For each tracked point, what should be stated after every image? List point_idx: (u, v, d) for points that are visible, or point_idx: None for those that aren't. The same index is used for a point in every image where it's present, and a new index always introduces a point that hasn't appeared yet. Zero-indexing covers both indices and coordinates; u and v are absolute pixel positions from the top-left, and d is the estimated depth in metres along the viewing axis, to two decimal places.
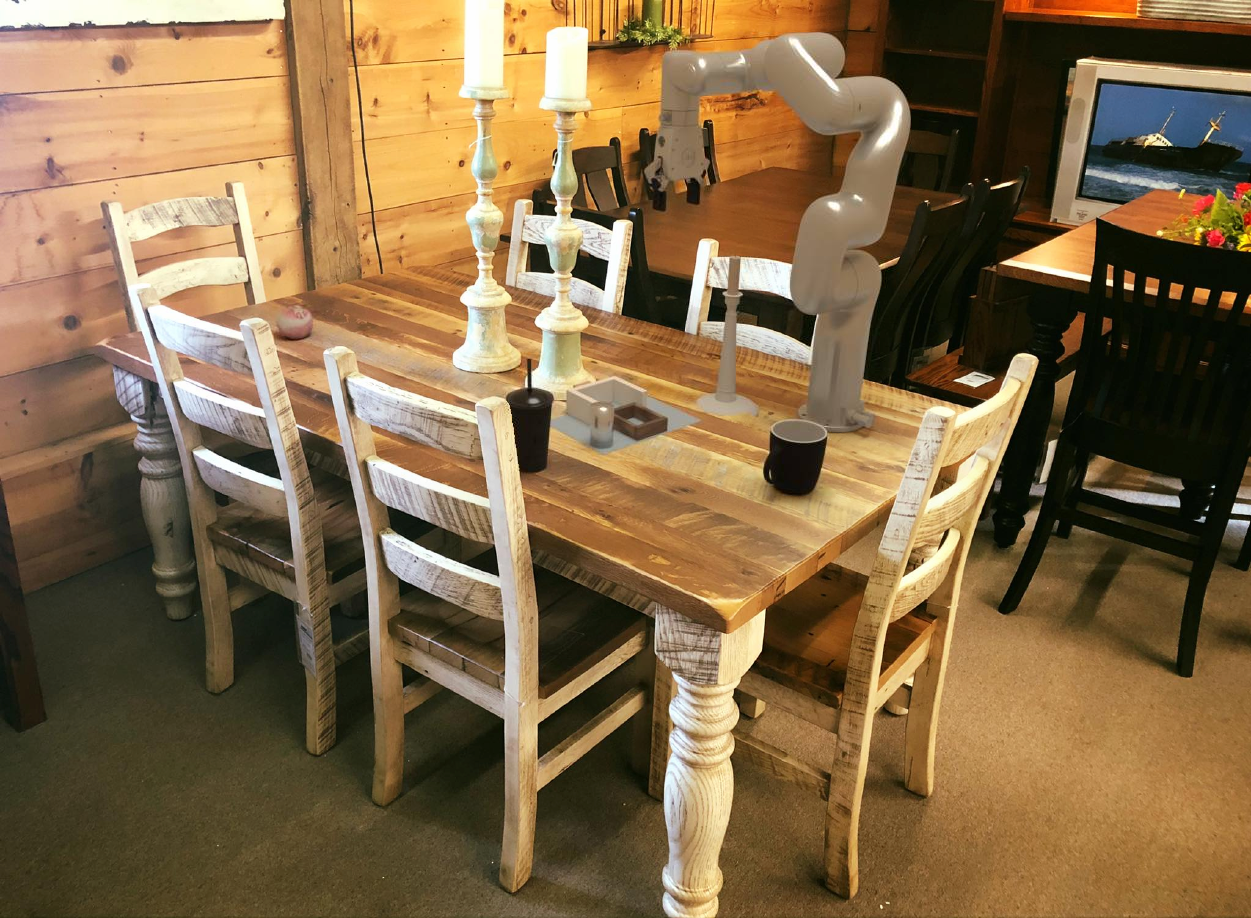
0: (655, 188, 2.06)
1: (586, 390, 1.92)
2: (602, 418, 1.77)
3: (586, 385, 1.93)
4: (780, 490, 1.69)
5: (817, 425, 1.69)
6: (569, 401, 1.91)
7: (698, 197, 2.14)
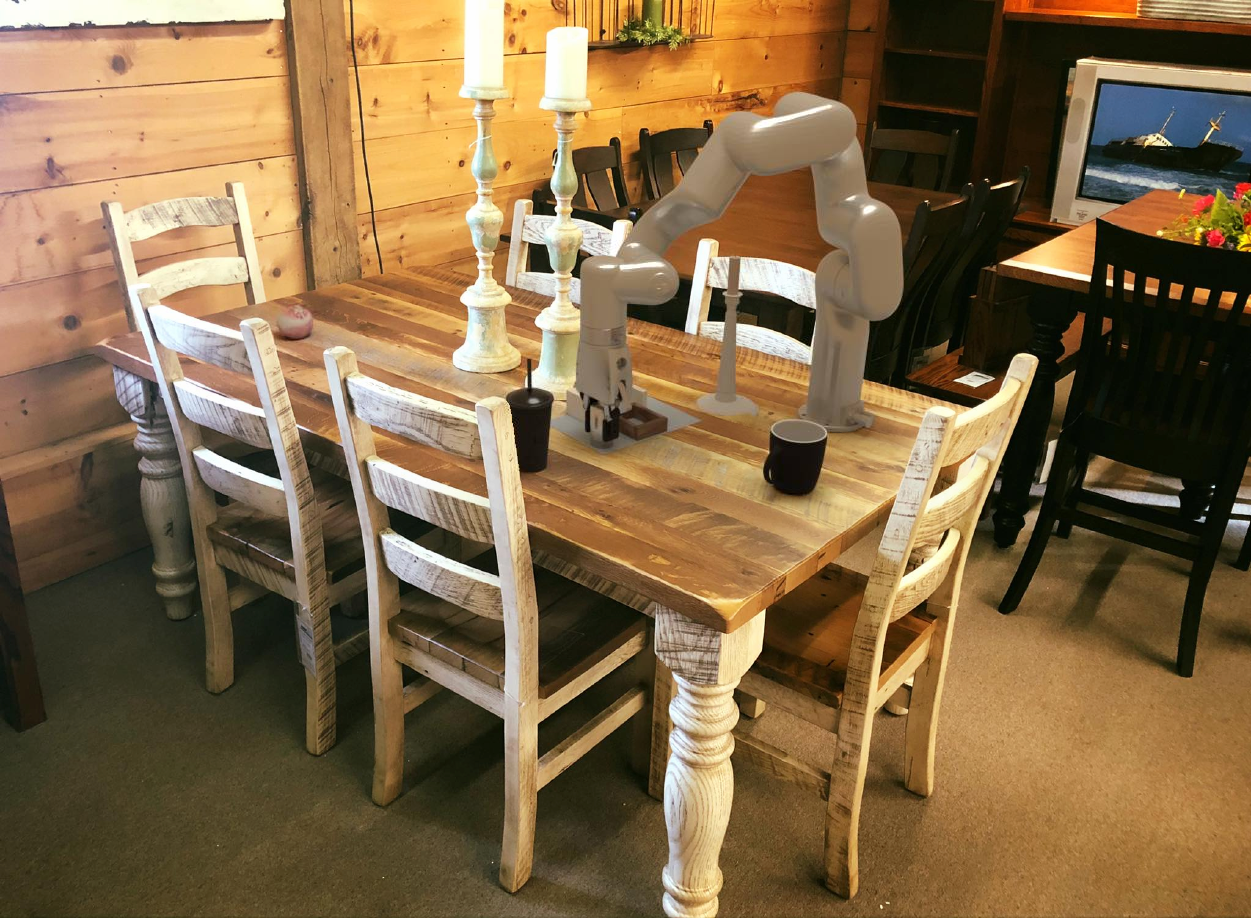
0: None
1: None
2: (602, 418, 1.77)
3: None
4: (780, 490, 1.69)
5: (817, 425, 1.69)
6: (569, 401, 1.91)
7: None
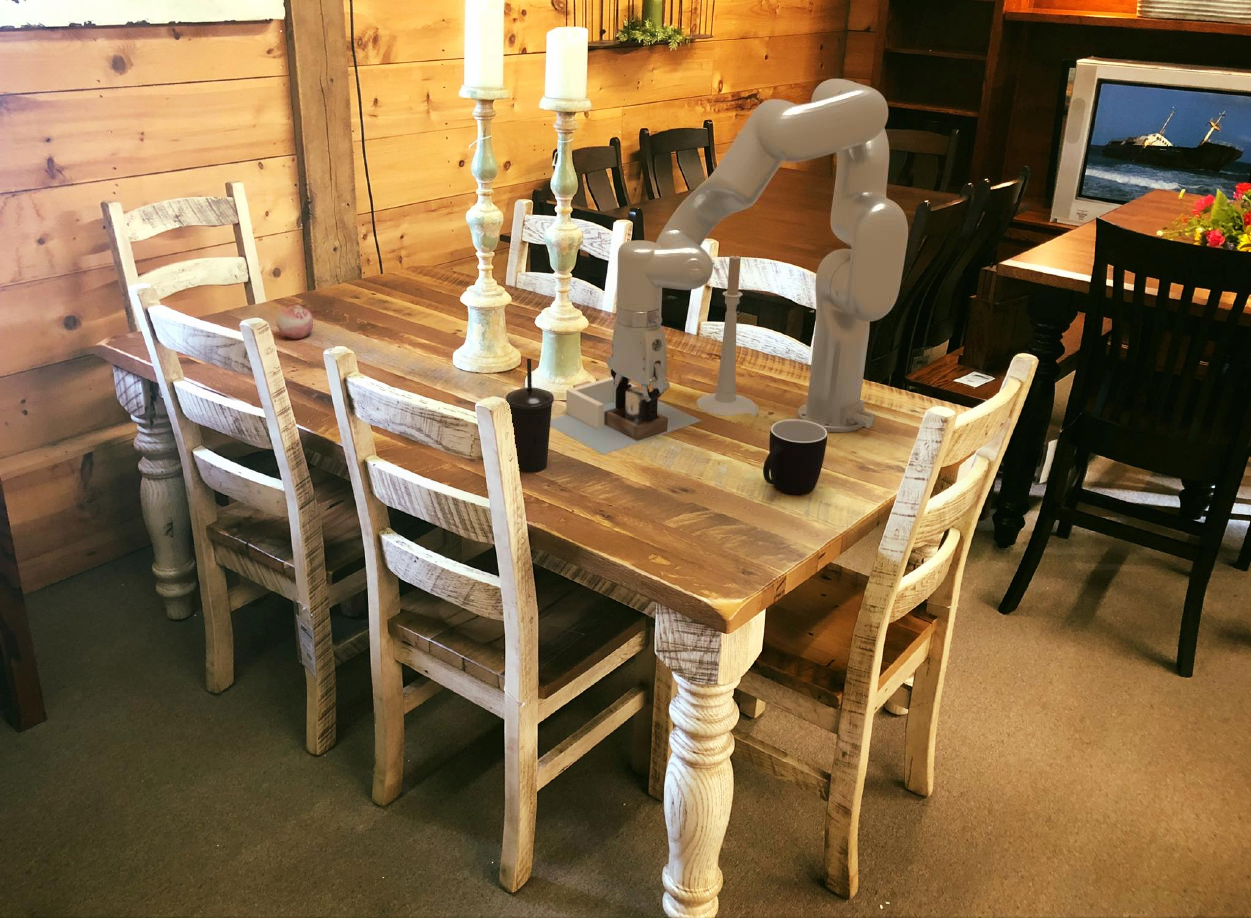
0: (656, 398, 1.81)
1: (586, 390, 1.92)
2: (637, 403, 1.83)
3: (586, 385, 1.93)
4: (780, 490, 1.69)
5: (817, 425, 1.69)
6: (569, 401, 1.91)
7: None
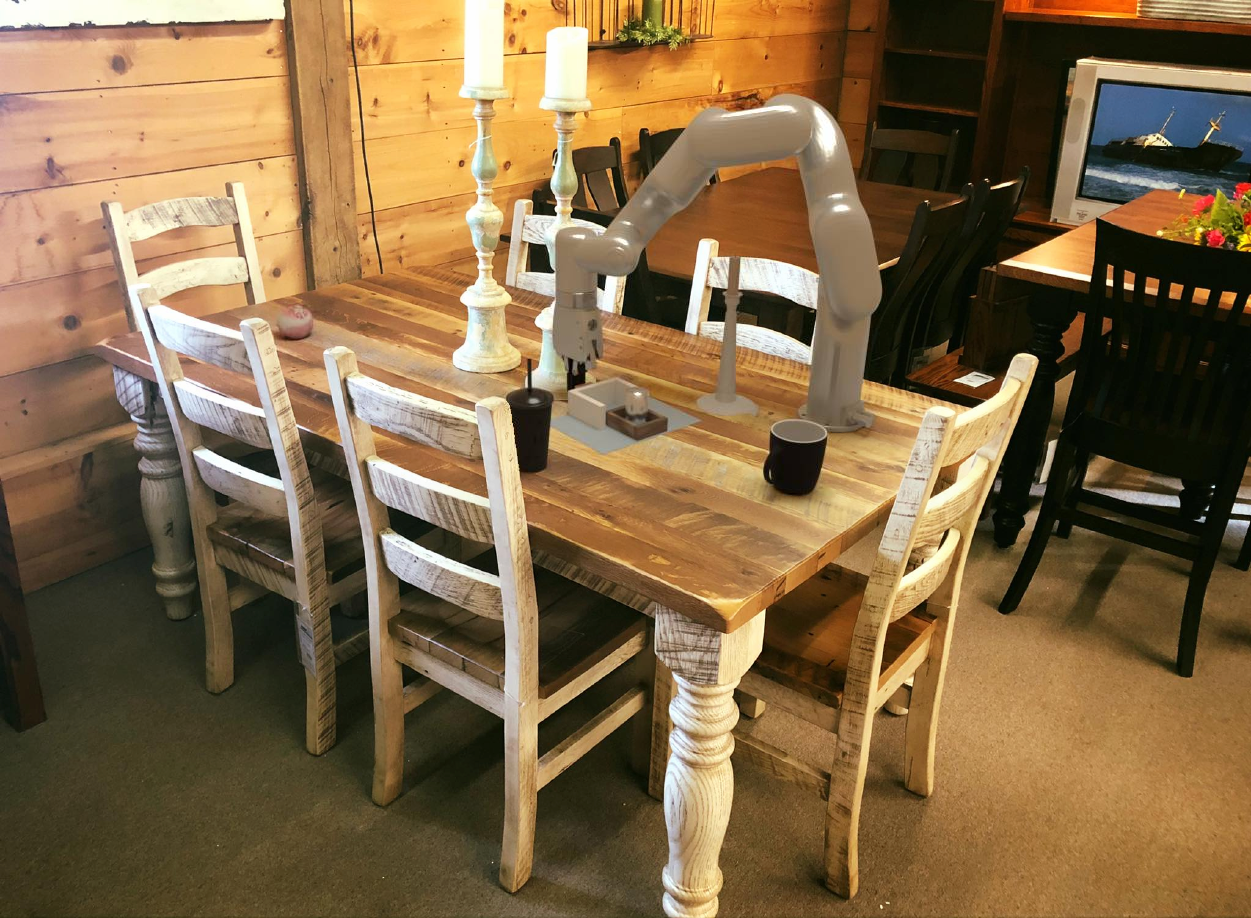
0: None
1: (588, 390, 1.92)
2: (637, 403, 1.83)
3: (588, 386, 1.92)
4: (780, 490, 1.69)
5: (817, 425, 1.69)
6: (571, 402, 1.90)
7: None
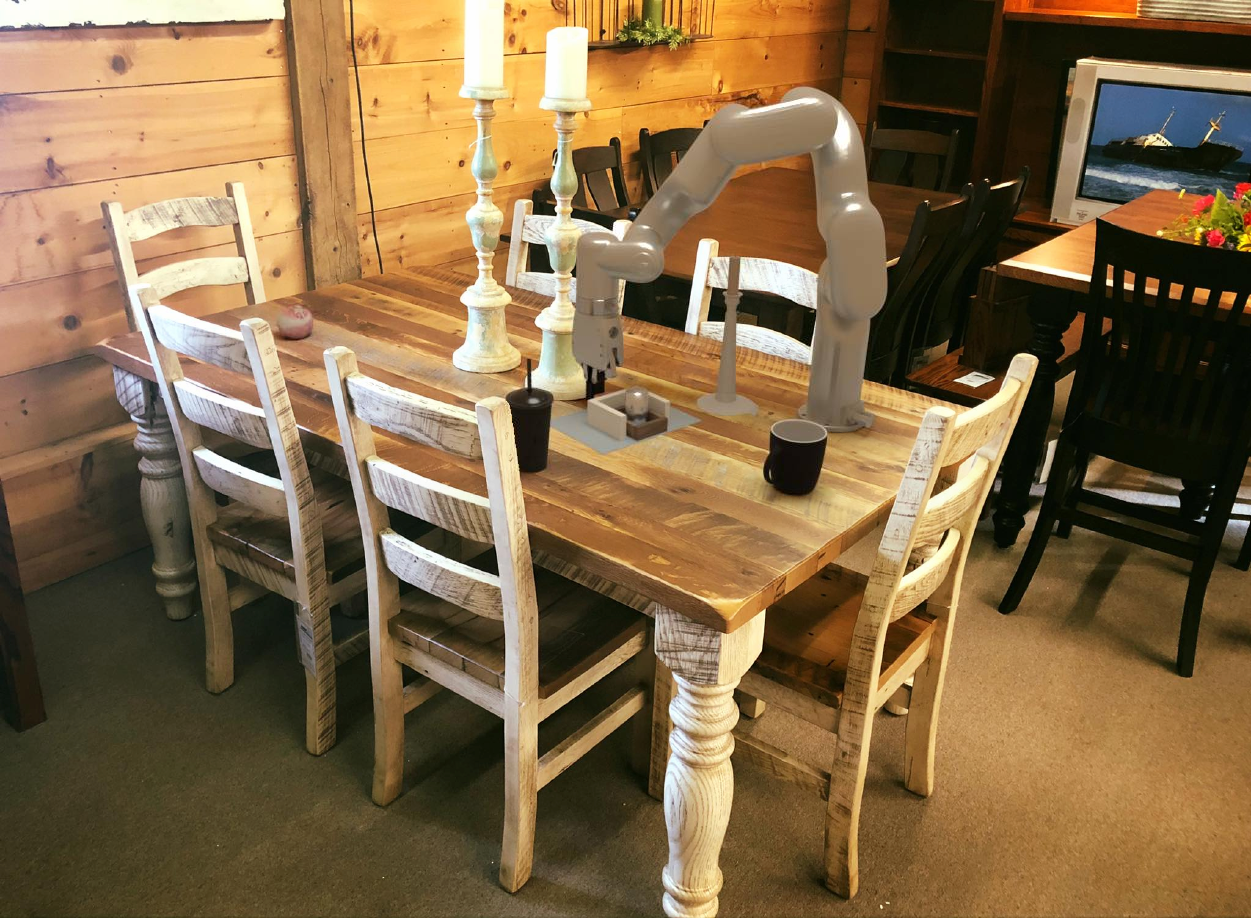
0: None
1: (608, 400, 1.88)
2: (637, 403, 1.83)
3: (607, 395, 1.88)
4: (780, 490, 1.69)
5: (817, 425, 1.69)
6: (590, 412, 1.86)
7: None
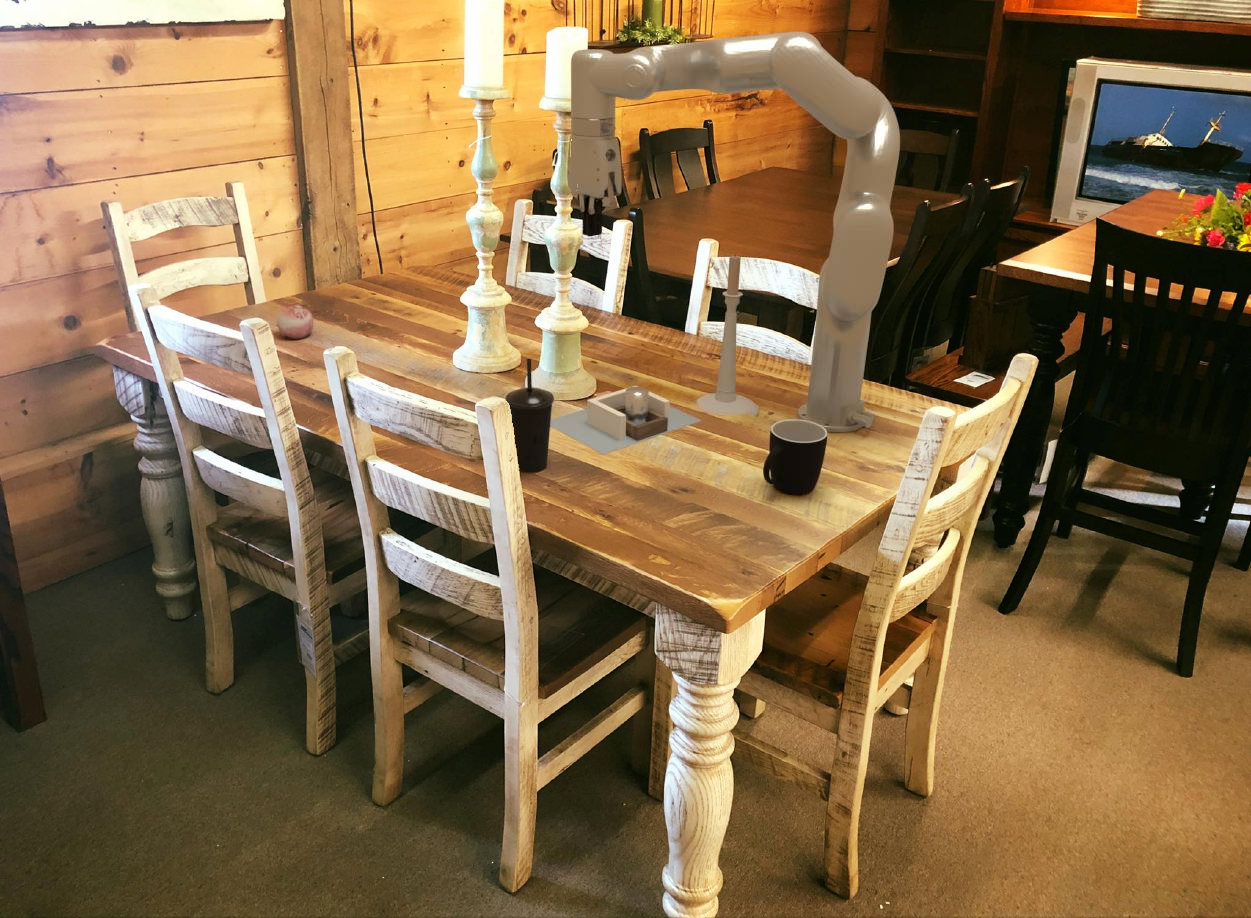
0: None
1: (607, 400, 1.88)
2: (638, 403, 1.83)
3: (607, 395, 1.88)
4: (780, 490, 1.69)
5: (817, 425, 1.69)
6: (590, 411, 1.87)
7: None
